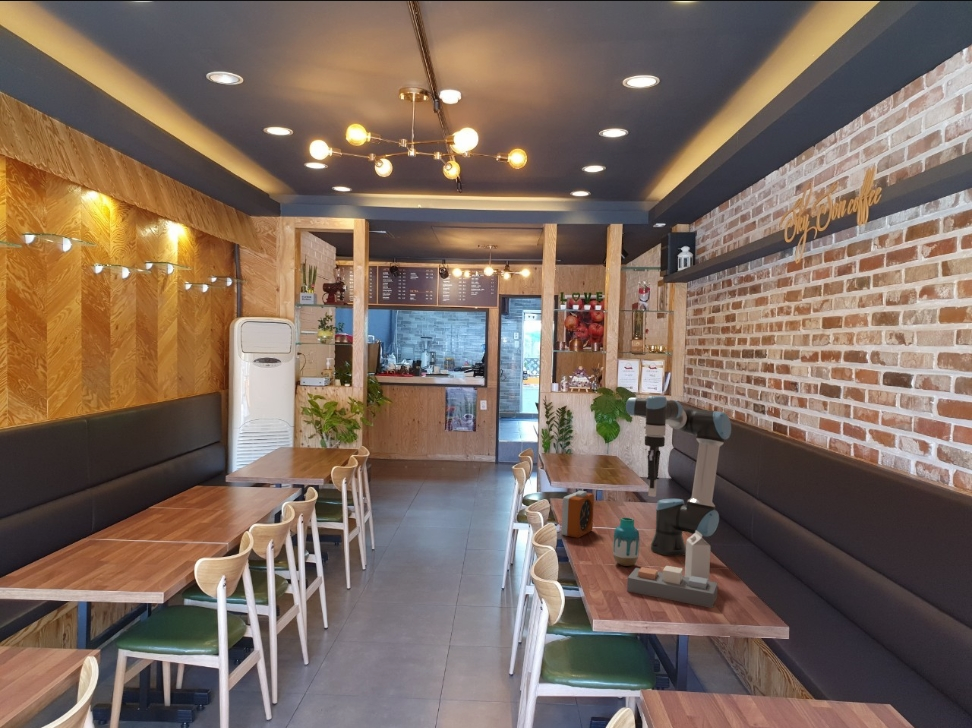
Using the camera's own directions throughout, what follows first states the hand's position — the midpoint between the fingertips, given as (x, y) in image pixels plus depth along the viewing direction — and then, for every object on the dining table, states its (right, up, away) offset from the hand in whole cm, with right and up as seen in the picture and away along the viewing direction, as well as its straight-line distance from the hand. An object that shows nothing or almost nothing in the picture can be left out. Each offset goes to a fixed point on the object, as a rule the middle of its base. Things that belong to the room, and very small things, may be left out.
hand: (652, 496), depth 255 cm
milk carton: (+17, -33, 0) cm, 38 cm away
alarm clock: (-21, -31, +62) cm, 72 cm away
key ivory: (+4, -30, -14) cm, 33 cm away
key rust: (-4, -31, -11) cm, 33 cm away
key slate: (+12, -32, -18) cm, 39 cm away
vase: (-7, -32, +17) cm, 37 cm away
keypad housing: (+4, -33, -14) cm, 36 cm away
